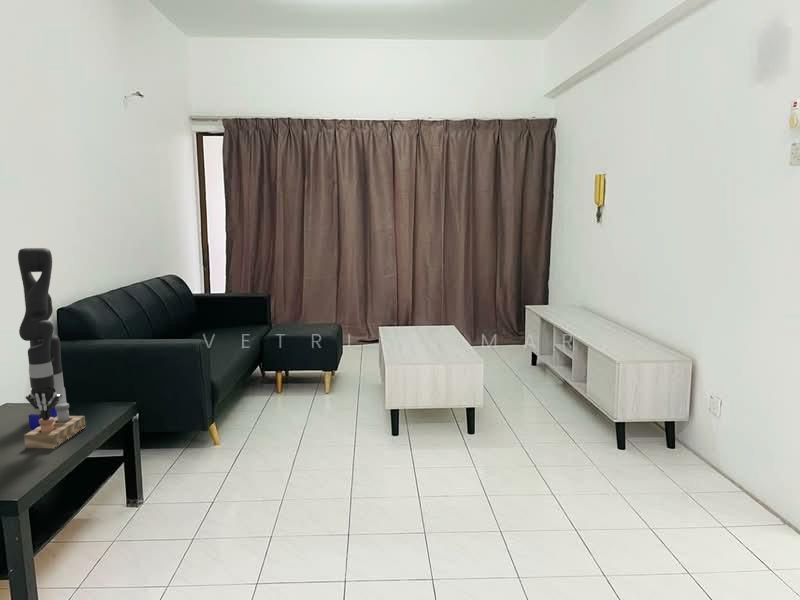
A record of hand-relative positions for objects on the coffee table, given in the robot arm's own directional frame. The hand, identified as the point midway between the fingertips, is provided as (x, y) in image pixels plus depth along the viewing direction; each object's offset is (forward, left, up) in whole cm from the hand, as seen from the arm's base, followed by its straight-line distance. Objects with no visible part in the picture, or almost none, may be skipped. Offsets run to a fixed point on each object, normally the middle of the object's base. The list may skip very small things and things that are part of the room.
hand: (46, 419), depth 221 cm
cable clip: (-19, -15, -10) cm, 26 cm away
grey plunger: (-10, 0, -6) cm, 12 cm away
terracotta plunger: (0, 0, -8) cm, 8 cm away
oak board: (-5, 0, -9) cm, 10 cm away
